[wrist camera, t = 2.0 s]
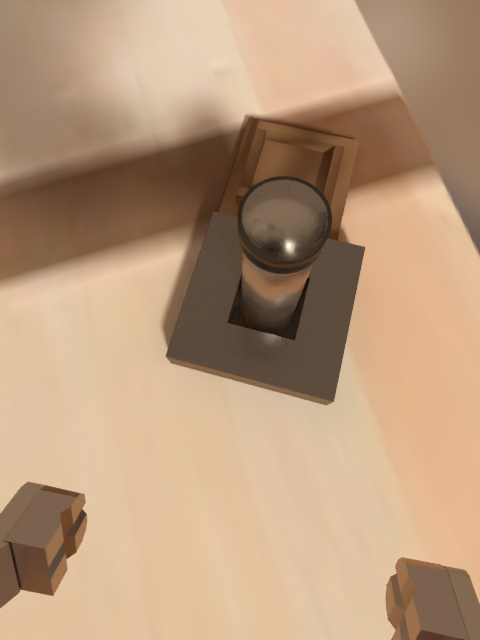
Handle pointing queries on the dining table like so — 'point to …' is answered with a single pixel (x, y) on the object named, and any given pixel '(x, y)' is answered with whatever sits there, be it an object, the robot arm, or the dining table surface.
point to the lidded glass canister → (279, 247)
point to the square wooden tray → (292, 164)
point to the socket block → (258, 347)
